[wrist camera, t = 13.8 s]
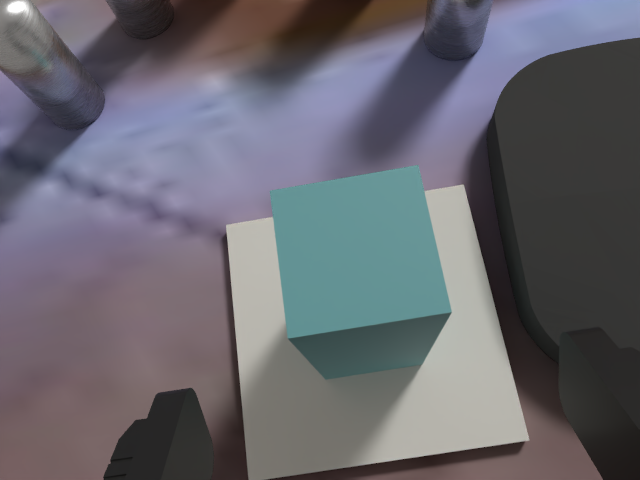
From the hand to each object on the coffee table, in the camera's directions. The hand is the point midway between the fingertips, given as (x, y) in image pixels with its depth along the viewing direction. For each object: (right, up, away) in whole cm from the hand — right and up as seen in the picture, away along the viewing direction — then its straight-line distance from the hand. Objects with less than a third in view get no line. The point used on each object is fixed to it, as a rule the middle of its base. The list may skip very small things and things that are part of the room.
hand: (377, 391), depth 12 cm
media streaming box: (+14, +5, +13) cm, 19 cm away
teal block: (+1, 0, +11) cm, 11 cm away
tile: (+1, 0, +12) cm, 12 cm away
